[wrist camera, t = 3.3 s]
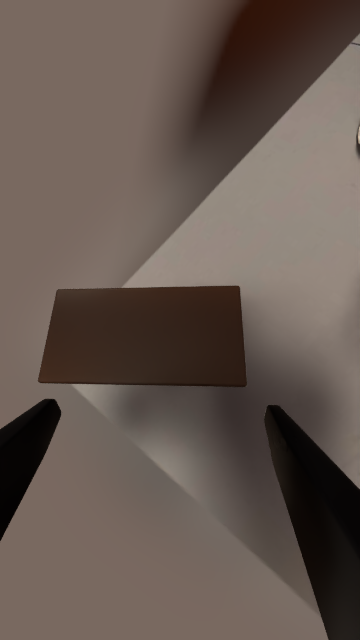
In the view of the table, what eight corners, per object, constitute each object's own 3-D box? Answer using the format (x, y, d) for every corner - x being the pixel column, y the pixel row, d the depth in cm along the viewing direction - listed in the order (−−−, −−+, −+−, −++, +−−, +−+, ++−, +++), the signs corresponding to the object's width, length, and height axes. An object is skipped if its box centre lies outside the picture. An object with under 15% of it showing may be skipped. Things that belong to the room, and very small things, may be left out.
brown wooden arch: (212, 381, 18) (248, 387, 5) (145, 380, 18) (36, 383, 6) (211, 348, 19) (240, 284, 6) (147, 347, 19) (55, 288, 7)
